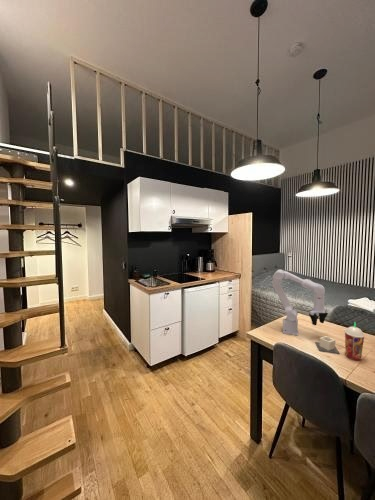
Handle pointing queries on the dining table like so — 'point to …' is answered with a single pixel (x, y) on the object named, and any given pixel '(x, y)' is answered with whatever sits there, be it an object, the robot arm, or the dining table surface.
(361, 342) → the smoothie
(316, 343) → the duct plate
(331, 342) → the collar
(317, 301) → the robot arm
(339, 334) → the dining table surface
